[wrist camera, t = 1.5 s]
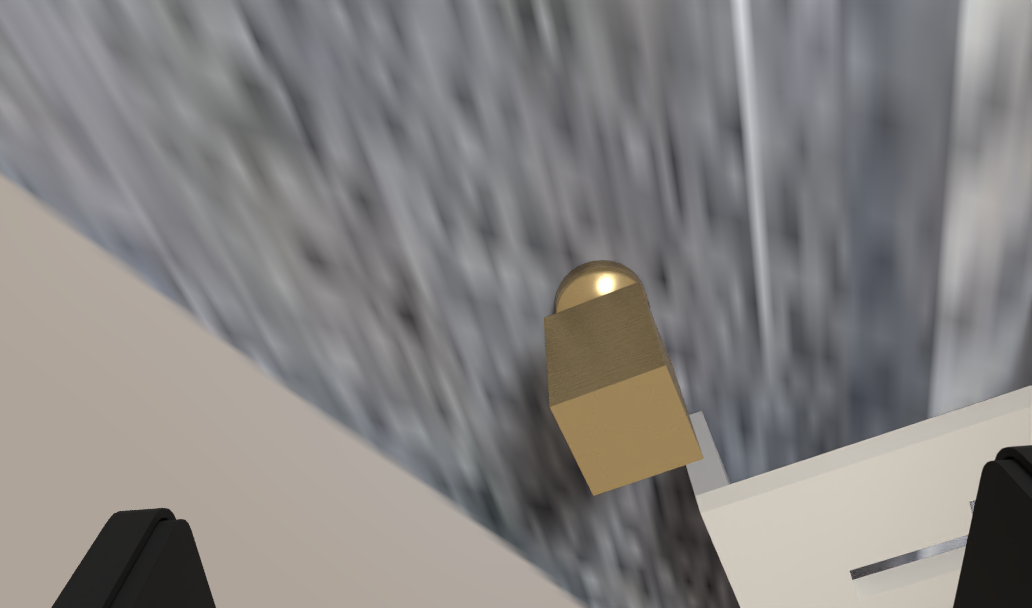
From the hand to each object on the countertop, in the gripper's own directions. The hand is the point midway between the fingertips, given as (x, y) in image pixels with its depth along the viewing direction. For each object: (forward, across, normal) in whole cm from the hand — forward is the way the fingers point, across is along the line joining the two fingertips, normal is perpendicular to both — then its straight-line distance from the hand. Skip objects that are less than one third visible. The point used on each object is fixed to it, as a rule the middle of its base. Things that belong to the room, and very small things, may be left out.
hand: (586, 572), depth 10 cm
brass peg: (+28, -3, +10) cm, 30 cm away
